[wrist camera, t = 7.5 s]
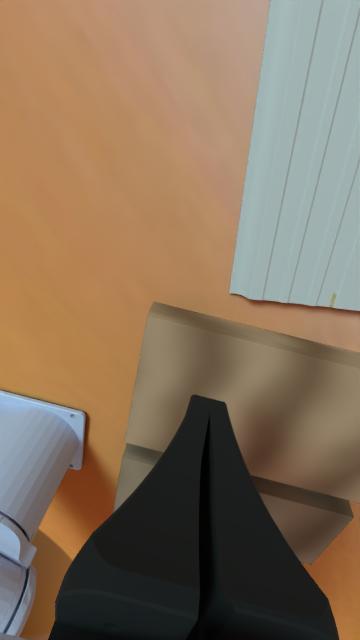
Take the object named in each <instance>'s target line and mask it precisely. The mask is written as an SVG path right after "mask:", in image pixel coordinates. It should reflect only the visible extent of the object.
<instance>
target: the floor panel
mask: <svg viewBox="0 0 360 640" xmlns="http://www.w3.org/2000/svg"><path fill="white" fill-rule="evenodd" d="M163 453H164V452H160V451H156V450H152V449H149V448H145V447H141V446H137V445H133V444H129V443H127V445H126V448H125V451H124V454H123V457H122V462H121V468H120V474H119V480H118V485H117V491H116V497H115V502H114V508H113V513H114V512H115V511H116V510H117V509H118V508H119V507H120V506H121V505H122V504H123V502H124V501H125V500H126V499H127V498H128V497H129V496H130V495H131V494H132V493H133V492H134V491H135V489H136V488H137V487H138V486H139V485H140V484H141V482H142V481H143V480H144V479H145V477H146V476H147V475H148V474H149V472H150V471H151V470H152V468H153V467H154V466H155V464H156V463H157V462H158V460H159V459H160V457H161V456H162V455H163ZM251 478H252V480H253V482H254V484H255V486H256V488H257V490H258V492H259V494H260V496H261V498H262V500H263V502H264V504H265V506H266V508H267V509H268V511H269V513H270V515H271V517H272V518H273V520H274V522H275V523H276V525H277V526H278V528H279V530H280V531H281V533H282V535H283V536H284V538H285V539H286V541H287V543H288V544H289V546H290V547H291V549H292V550H293V552H294V553H295V555H296V556H297V558H298V559H299V561H300V562H302V563H306V564H310V565H311V564H312V563H313V562H314V561H315V560H316V559H317V558H318V557H319V556H320V554H321V553H322V552H323V551H324V550H325V549H326V548H327V547H328V546H329V544H330V543H331V542H332V541H333V540H334V539H335V538H336V537H337V536H338V534H339V533H340V532H341V531H342V530H343V529H344V528H345V527H346V526H347V525H348V523H349V522H350V521H351V520H352V519H353V518H354V516H353V513H352V510H351V507H350V504H349V500H346V499H342V498H338V497H334V496H330V495H327V494H323V493H319V492H315V491H311V490H307V489H303V488H299V487H296V486H292V485H288V484H284V483H280V482H276V481H272V480H269V479H265V478H261V477H257V476H253V475H251Z"/></svg>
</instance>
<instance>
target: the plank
mask: <svg viewBox="0 0 360 640" xmlns="http://www.w3.org/2000/svg"><path fill="white" fill-rule="evenodd" d="M194 394H195V395H199V396H203V397H207V398H211V399H215V400H219V401H223V402H225V403H226V405H227V409H228V413H229V417H230V421H231V424H232V428H233V431H234V434H235V437H236V440H237V443H238V445H239V448H240V451H241V454H242V456H243V459H244V461H245V464H246V466H247V468H248V471H249V473H250V475H253V476H257V477H261V478H265V479H269V480H272V481H276V482H280V483H284V484H288V485H292V486H296V487H299V488H303V489H307V490H311V491H315V492H319V493H323V494H327V495H330V496H334V497H338V498H342V499H346V500H350V501H354V502H357V503H360V353H357V352H353V351H349V350H345V349H341V348H337V347H333V346H329V345H325V344H321V343H317V342H313V341H309V340H305V339H301V338H297V337H293V336H289V335H285V334H281V333H277V332H273V331H269V330H265V329H261V328H257V327H253V326H249V325H245V324H241V323H237V322H233V321H229V320H225V319H221V318H217V317H213V316H209V315H205V314H201V313H197V312H193V311H189V310H185V309H181V308H177V307H173V306H169V305H165V304H161V303H157V302H154V303H153V305H152V307H151V309H150V311H149V313H148V315H147V320H146V326H145V331H144V337H143V343H142V348H141V354H140V359H139V365H138V371H137V376H136V382H135V387H134V393H133V399H132V404H131V410H130V415H129V421H128V427H127V432H126V438H125V443H129V444H133V445H137V446H141V447H145V448H149V449H152V450H156V451H160V452H165V450H166V449H167V447H168V445H169V444H170V442H171V441H172V439H173V437H174V436H175V434H176V432H177V430H178V428H179V427H180V425H181V423H182V421H183V419H184V417H185V414H186V411H187V407H188V404H189V401H190V398H191V396H192V395H194Z"/></svg>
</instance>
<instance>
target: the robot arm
mask: <svg viewBox="0 0 360 640" xmlns="http://www.w3.org/2000/svg"><path fill="white" fill-rule="evenodd" d="M85 422H86V415H85V413H84V412H82V411H79V410H75V409H71V408H67V407H63V406H59V405H55V404H52V403H48V402H44V401H40V400H36V399H32V398H28V397H24V396H20V395H17V394H13V393H9V392H5V391H1V390H0V640H27V639H23V638H20V637H19V635H20V633H21V631H22V629H23V627H24V625H25V623H26V621H27V618H28V616H29V613H30V610H31V608H32V604H33V601H34V597H35V591H36V570H35V568H34V566H32V565H31V561H32V559H33V557H34V555H35V553H36V551H37V548H35V547H34V546H33V545H32V544H31V542H32V540H33V538H34V535H35V533H36V532H37V529H38V527H39V525H40V523H41V521H42V519H43V517H44V515H45V513H46V511H47V509H48V507H49V505H50V503H51V501H52V499H53V497H54V495H55V493H56V491H57V489H58V487H59V485H60V483H61V481H62V479H63V477H64V475H65V473H66V471H67V469H68V468H70V469H74V470H80V469H81V467H82V462H83V448H84V435H85ZM55 604H56V605H55V622H54V625H53V628H52V631H51V633H50V636H49V639H48V640H339V636H338V631H337V627H336V624H335V620H334V617H333V613H332V610H331V607H330V604H329V600H328V598H327V597H326V596H325V594H324V593H323V592H322V590H321V589H320V588H319V587H318V585H317V584H316V583H315V581H314V580H313V579H312V577H311V576H310V575H309V573H308V572H307V571H306V569H305V568H304V566H303V565H302V564H301V562H300V561H299V559H298V558H297V556H296V555H295V553H294V552H293V550H292V549H291V547H290V546H289V544H288V543H287V541H286V539H285V538H284V536H283V535H282V533H281V531H280V530H279V528H278V526H277V525H276V523H275V522H274V520H273V518H272V517H271V515H270V513H269V511H268V509H267V508H266V506H265V504H264V502H263V500H262V498H261V496H260V494H259V492H258V490H257V488H256V486H255V484H254V482H253V480H252V478H251V475H250V473H249V471H248V468H247V466H246V464H245V461H244V459H243V456H242V454H241V451H240V448H239V445H238V443H237V440H236V437H235V434H234V431H233V428H232V424H231V421H230V417H229V413H228V409H227V405H226V403H225V402H223V401H219V400H215V399H211V398H207V397H203V396H199V395H195V394H194V395H192V396H191V398H190V401H189V404H188V407H187V411H186V414H185V417H184V419H183V421H182V423H181V425H180V427H179V428H178V430H177V432H176V434H175V436H174V437H173V439H172V441H171V442H170V444H169V445H168V447H167V449H166V450H165V452H164V453H163V455H162V456H161V457H160V459H159V460H158V462H157V463H156V464H155V466H154V467H153V468H152V470H151V471H150V472H149V474H148V475H147V476H146V477H145V479H144V480H143V481H142V482H141V484H140V485H139V486H138V487H137V488H136V489H135V491H134V492H133V493H132V494H131V495H130V496H129V497H128V498H127V499H126V500H125V501H124V502H123V504H122V505H121V506H120V507H119V508H118V509H117V510H116V511H115V512H114V513H113V514H112V515H111V516H110V517H109V518H108V519H107V520H106V521H105V522H104V523H103V524H102V525H101V526H99V527H98V528H97V529H96V530H95V531H94V532H93V533H92V534H91V536H90V537H89V539H88V540H87V542H86V543H85V544H84V546H83V547H82V548H81V550H80V551H79V553H78V554H77V556H76V557H75V559H74V560H73V562H72V564H71V565H70V567H69V568H68V570H67V572H66V574H65V576H64V579H63V581H62V584H61V587H60V590H59V593H58V595H57V598H56V601H55Z"/></svg>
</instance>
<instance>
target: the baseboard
mask: <svg viewBox="0 0 360 640" xmlns="http://www.w3.org/2000/svg"><path fill="white" fill-rule="evenodd" d="M229 293H233V294H239V295H242V296H244V297H246V298H248V299H253V300H268V301H277V302H281V303H296V304H305V305H309V306H324V307H333V308H337V309H347V310H356V311H360V0H270V7H269V14H268V21H267V28H266V35H265V42H264V50H263V57H262V64H261V71H260V78H259V85H258V92H257V99H256V106H255V113H254V120H253V127H252V134H251V141H250V148H249V156H248V163H247V170H246V177H245V184H244V191H243V198H242V205H241V212H240V219H239V226H238V233H237V240H236V247H235V255H234V262H233V269H232V276H231V283H230V290H229Z"/></svg>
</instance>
